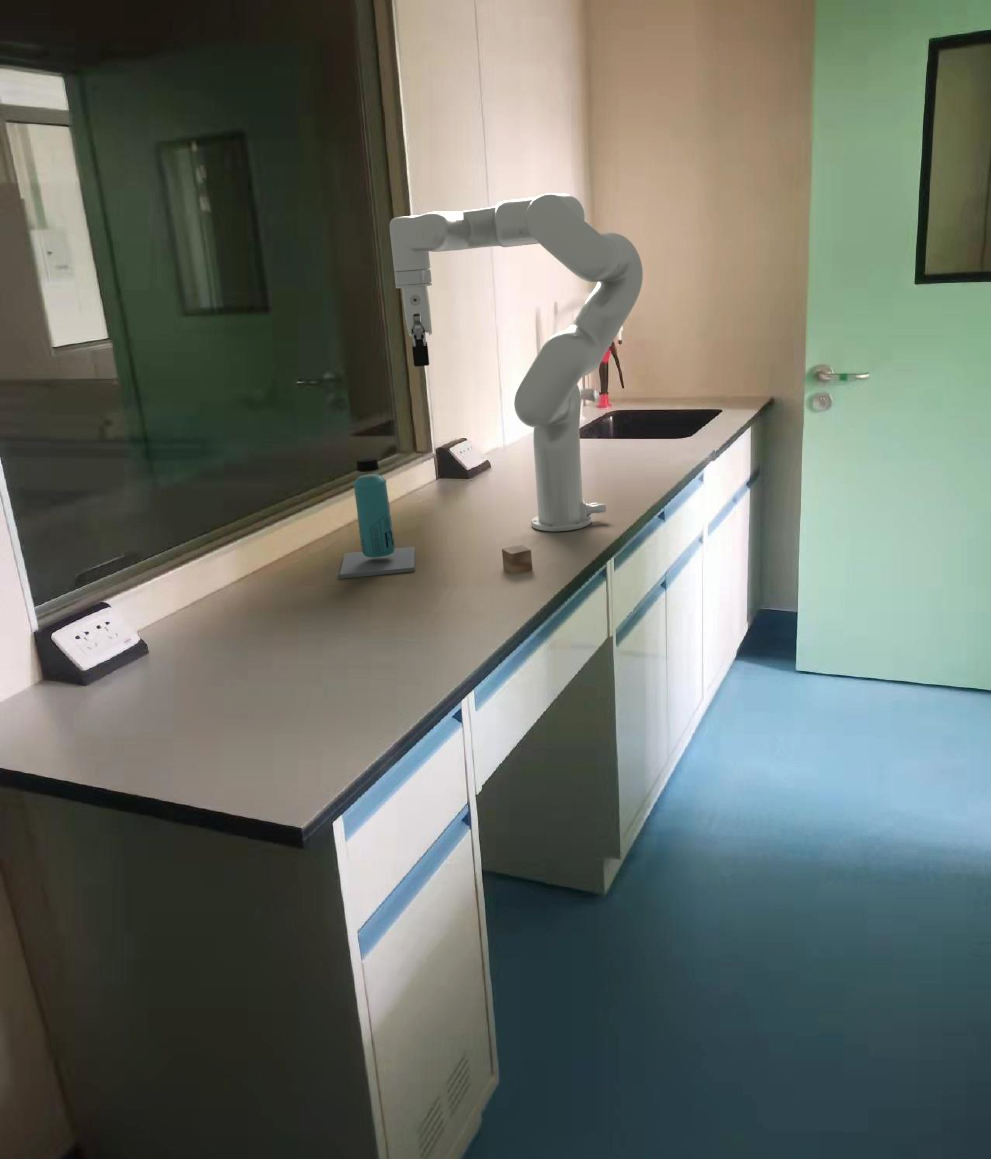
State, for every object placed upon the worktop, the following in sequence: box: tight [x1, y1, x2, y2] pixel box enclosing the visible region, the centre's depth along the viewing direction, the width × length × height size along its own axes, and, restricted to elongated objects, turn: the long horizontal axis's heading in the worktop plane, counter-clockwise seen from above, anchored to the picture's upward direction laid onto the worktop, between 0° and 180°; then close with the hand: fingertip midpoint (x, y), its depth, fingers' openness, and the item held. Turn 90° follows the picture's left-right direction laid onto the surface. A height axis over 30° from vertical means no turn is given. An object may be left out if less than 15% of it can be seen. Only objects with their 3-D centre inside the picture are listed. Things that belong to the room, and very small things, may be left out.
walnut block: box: [501, 544, 533, 575], centre depth 181 cm, size 4×4×4 cm
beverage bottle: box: [352, 456, 396, 557], centre depth 188 cm, size 6×7×20 cm
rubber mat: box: [339, 546, 416, 579], centre depth 191 cm, size 14×14×1 cm
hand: (421, 363), depth 210 cm, fingers open, 9 cm apart
